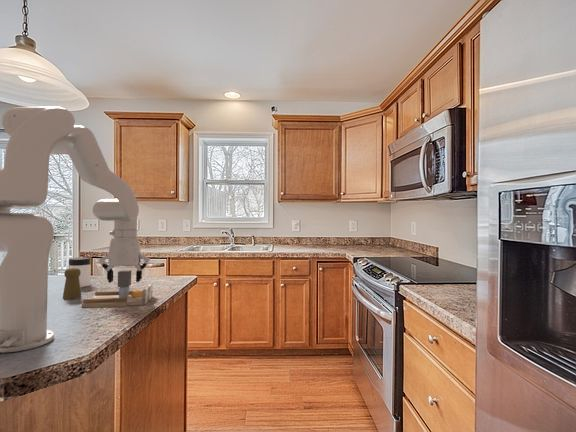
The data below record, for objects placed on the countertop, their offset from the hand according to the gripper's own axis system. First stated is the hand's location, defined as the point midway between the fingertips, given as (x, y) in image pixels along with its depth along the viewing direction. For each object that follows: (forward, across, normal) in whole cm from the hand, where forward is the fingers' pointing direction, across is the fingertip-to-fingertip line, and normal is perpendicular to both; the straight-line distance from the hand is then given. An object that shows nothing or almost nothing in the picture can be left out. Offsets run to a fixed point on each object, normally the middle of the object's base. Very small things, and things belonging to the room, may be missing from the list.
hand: (124, 281), depth 122 cm
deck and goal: (+7, 0, 0) cm, 7 cm away
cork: (+7, -20, +8) cm, 23 cm away
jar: (+7, -26, +30) cm, 41 cm away
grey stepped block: (+6, 0, 0) cm, 6 cm away
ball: (+5, +4, 0) cm, 7 cm away
